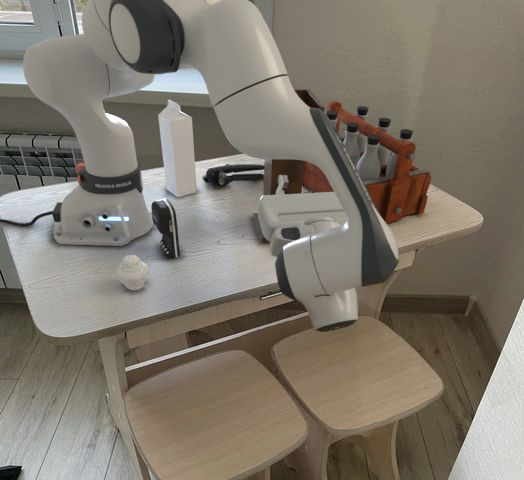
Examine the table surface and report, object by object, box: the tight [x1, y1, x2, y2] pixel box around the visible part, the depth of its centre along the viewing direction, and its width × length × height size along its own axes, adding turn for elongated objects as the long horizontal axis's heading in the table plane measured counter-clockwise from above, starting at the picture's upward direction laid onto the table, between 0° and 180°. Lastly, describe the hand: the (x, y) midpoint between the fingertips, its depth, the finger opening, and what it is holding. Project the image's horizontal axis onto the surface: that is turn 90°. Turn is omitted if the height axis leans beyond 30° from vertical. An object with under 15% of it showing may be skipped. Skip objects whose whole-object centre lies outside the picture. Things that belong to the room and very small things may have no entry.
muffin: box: [116, 254, 150, 291], centre depth 97 cm, size 6×6×7 cm
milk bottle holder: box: [302, 100, 432, 224], centre depth 126 cm, size 21×35×19 cm, turn 26°
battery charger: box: [150, 198, 181, 259], centre depth 106 cm, size 7×4×11 cm, turn 25°
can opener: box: [202, 163, 264, 189], centre depth 134 cm, size 18×7×6 cm, turn 114°
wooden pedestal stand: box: [252, 88, 325, 245], centre depth 108 cm, size 12×12×29 cm
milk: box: [157, 98, 198, 198], centre depth 124 cm, size 6×6×22 cm
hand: (307, 175), depth 90 cm, fingers open, 8 cm apart
